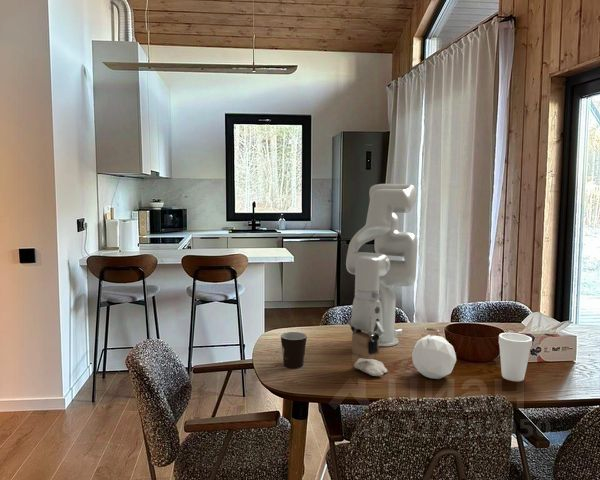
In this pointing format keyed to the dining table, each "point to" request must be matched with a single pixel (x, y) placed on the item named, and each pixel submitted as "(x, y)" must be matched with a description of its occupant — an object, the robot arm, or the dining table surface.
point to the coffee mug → (293, 349)
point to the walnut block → (362, 343)
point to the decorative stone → (370, 366)
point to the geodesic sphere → (434, 356)
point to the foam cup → (514, 355)
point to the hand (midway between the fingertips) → (365, 349)
